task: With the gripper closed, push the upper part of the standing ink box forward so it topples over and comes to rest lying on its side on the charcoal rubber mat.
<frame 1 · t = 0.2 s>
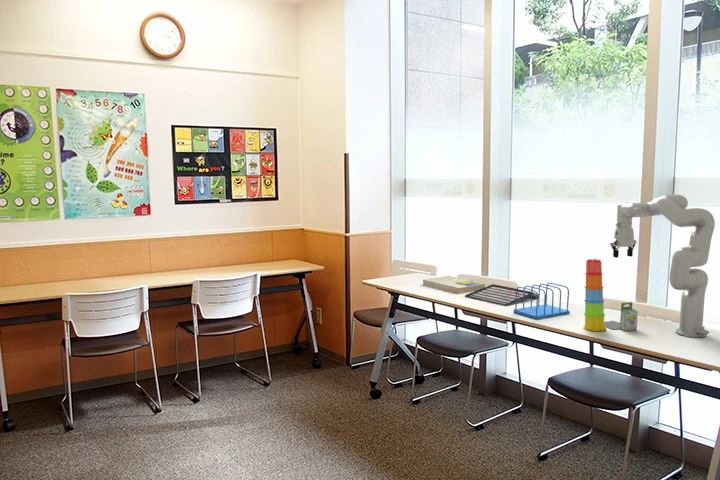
hand: (622, 256, 312), 31 cm above the table, tool pointing down, fingers open, 9 cm apart
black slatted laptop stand: (501, 298, 355), on the table
stacking cups: (594, 329, 285), on the table
file sorter: (541, 313, 316), on the table
puzzle box: (453, 288, 388), on the table
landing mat: (613, 325, 290), on the table
ink box: (628, 330, 282), on the table
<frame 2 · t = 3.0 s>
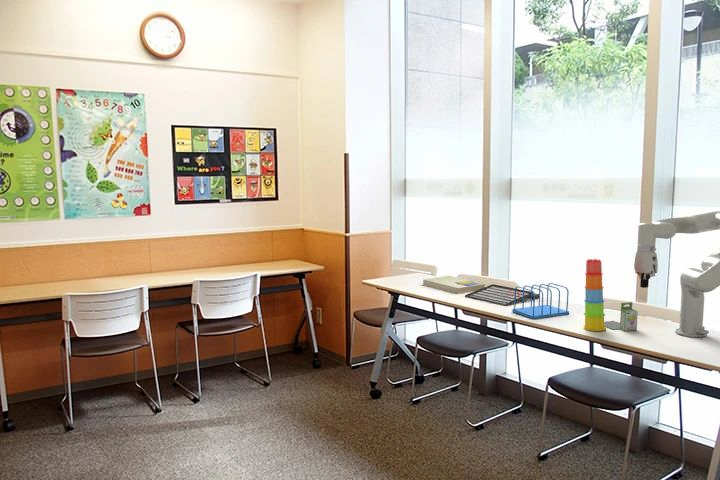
hand: (644, 287, 271), 23 cm above the table, tool pointing down, fingers closed
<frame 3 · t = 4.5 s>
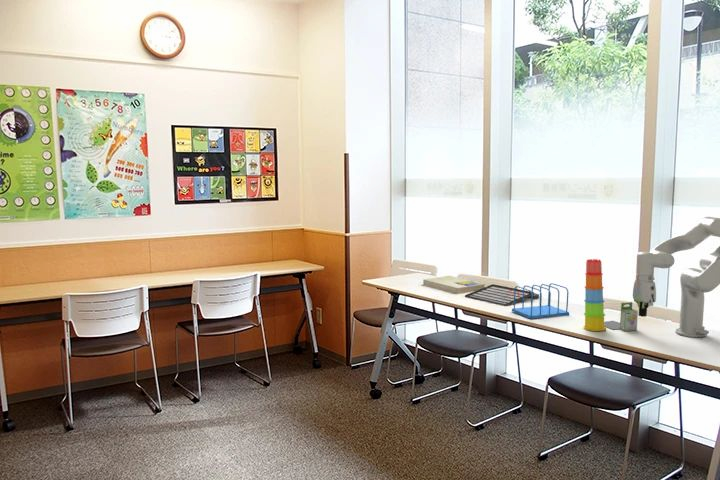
hand: (642, 315, 273), 9 cm above the table, tool pointing down, fingers closed
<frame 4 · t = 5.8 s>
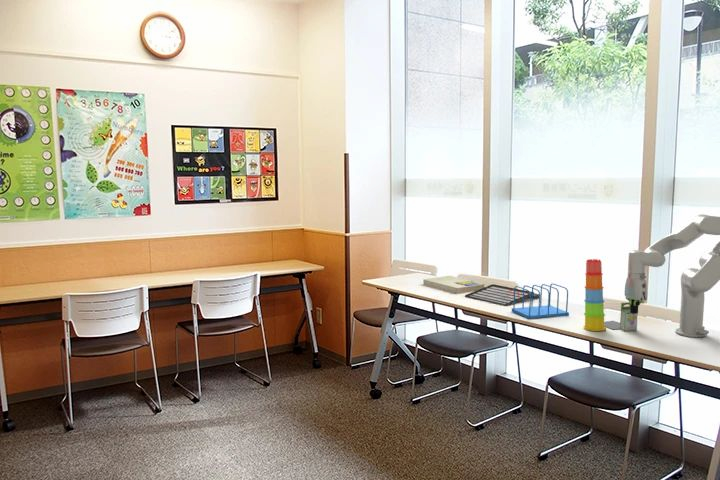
hand: (634, 313, 278), 9 cm above the table, tool pointing down, fingers closed
ink box: (628, 330, 282), on the table, touching gripper
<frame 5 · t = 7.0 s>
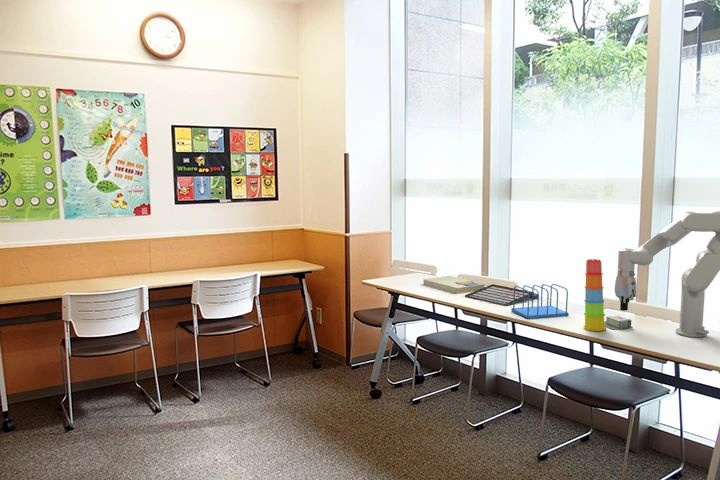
hand: (623, 310, 284), 9 cm above the table, tool pointing down, fingers closed
ink box: (625, 324, 283), point 2 cm above the table, touching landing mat
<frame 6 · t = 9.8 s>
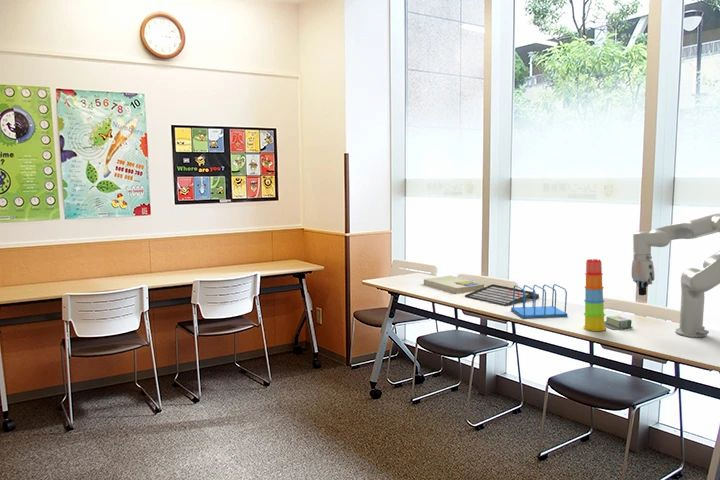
hand: (642, 294, 276), 18 cm above the table, tool pointing down, fingers closed
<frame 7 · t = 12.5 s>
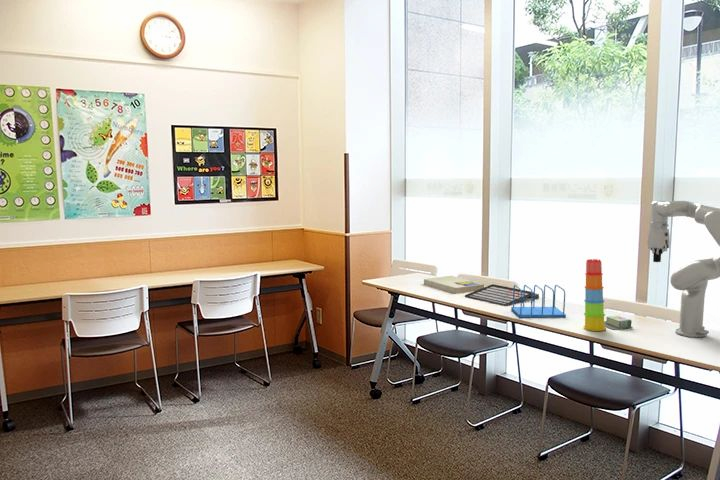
hand: (656, 261, 288), 32 cm above the table, tool pointing down, fingers closed
at the end: ink box tilted 90°; ink box touching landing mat; ink box inside the target area (1.3 cm from its centre), point 2.3 cm above the table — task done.
